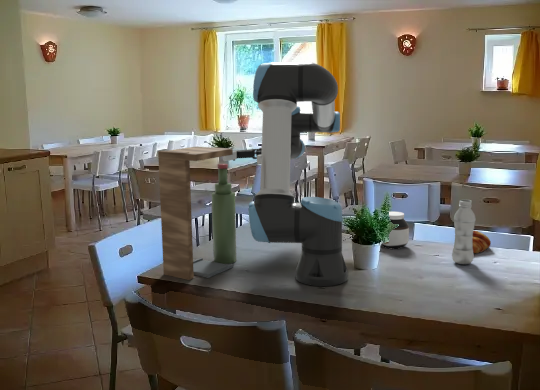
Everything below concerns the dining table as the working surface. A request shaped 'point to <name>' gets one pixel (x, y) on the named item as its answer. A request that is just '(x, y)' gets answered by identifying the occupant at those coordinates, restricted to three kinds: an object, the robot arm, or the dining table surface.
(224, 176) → the wine bottle
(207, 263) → the seat pad
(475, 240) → the croissant
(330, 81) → the robot arm
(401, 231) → the spread jar
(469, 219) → the plastic bottle
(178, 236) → the shelf
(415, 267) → the dining table surface
